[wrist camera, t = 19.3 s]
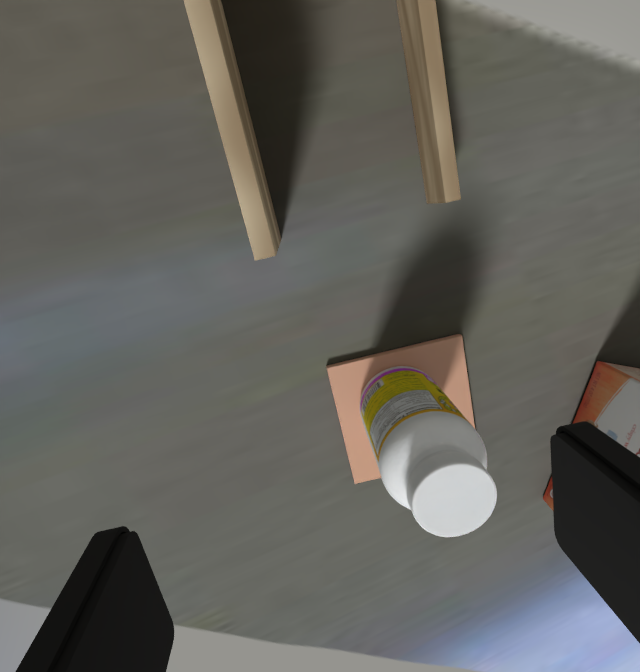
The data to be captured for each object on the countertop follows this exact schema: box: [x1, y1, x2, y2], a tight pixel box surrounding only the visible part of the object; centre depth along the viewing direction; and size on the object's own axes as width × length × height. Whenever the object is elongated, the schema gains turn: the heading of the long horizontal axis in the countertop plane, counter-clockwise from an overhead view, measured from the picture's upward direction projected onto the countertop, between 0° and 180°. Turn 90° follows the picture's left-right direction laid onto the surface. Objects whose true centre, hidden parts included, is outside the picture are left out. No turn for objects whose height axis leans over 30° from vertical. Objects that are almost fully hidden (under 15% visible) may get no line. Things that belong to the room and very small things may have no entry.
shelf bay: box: [184, 0, 461, 261], centre depth 23 cm, size 13×18×12 cm
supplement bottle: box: [360, 366, 497, 537], centre depth 29 cm, size 7×7×13 cm
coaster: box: [326, 334, 475, 484], centre depth 36 cm, size 11×11×1 cm
